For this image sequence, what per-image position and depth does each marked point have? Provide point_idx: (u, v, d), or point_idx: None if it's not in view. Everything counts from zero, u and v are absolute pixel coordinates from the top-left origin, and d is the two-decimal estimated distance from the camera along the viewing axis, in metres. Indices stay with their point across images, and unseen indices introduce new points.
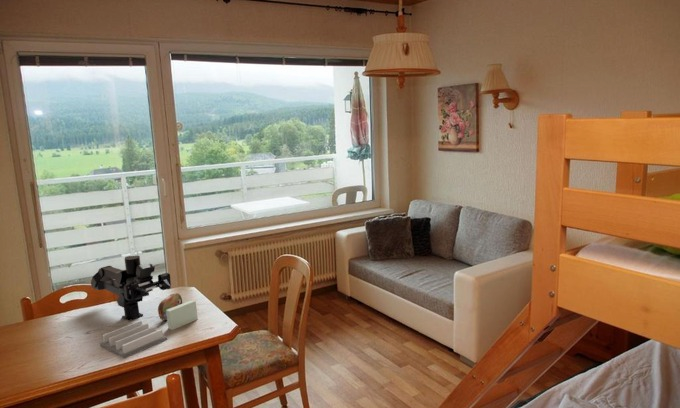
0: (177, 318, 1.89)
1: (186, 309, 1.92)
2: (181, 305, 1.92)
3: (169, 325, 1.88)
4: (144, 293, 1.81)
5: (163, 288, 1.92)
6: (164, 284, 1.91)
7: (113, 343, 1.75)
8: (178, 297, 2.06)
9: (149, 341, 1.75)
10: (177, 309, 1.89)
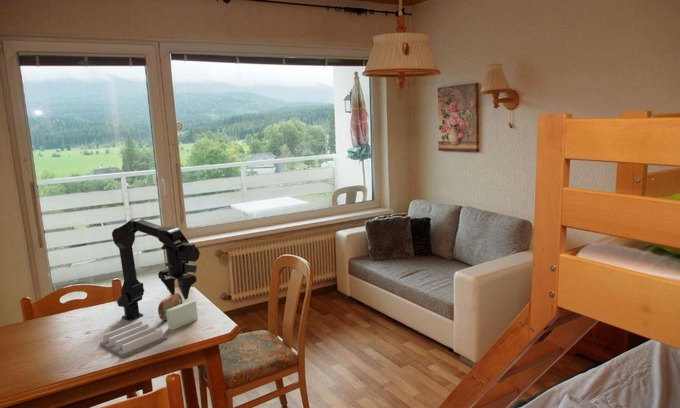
0: (177, 318, 1.89)
1: (186, 309, 1.92)
2: (181, 305, 1.92)
3: (169, 325, 1.88)
4: (186, 295, 1.87)
5: (166, 282, 1.92)
6: (172, 284, 1.93)
7: (113, 343, 1.75)
8: (178, 297, 2.06)
9: (149, 341, 1.75)
10: (177, 309, 1.89)
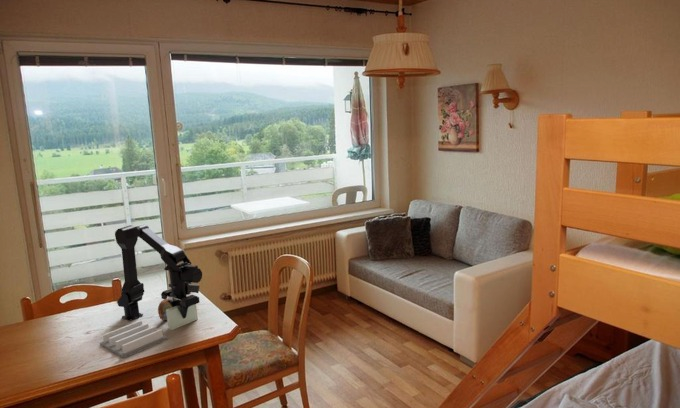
0: (177, 318, 1.89)
1: None
2: None
3: (169, 325, 1.88)
4: (185, 314, 1.91)
5: (174, 304, 1.91)
6: None
7: (113, 343, 1.75)
8: None
9: (149, 341, 1.75)
10: (177, 309, 1.89)
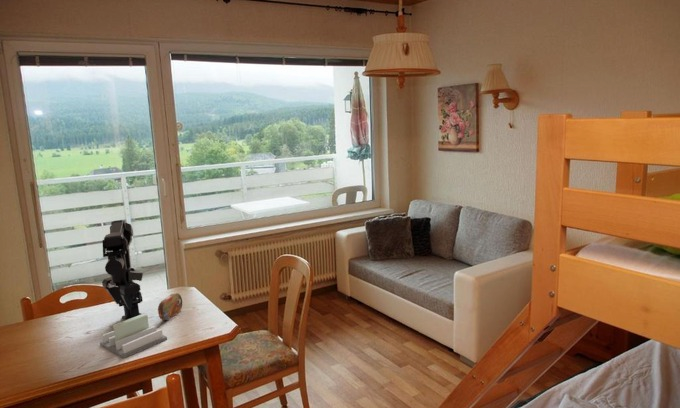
0: (125, 334, 1.75)
1: (136, 324, 1.78)
2: (131, 319, 1.78)
3: None
4: (130, 304, 1.80)
5: (110, 291, 1.84)
6: (116, 293, 1.86)
7: (113, 343, 1.75)
8: (178, 297, 2.06)
9: (149, 341, 1.75)
10: (125, 324, 1.75)
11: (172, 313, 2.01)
